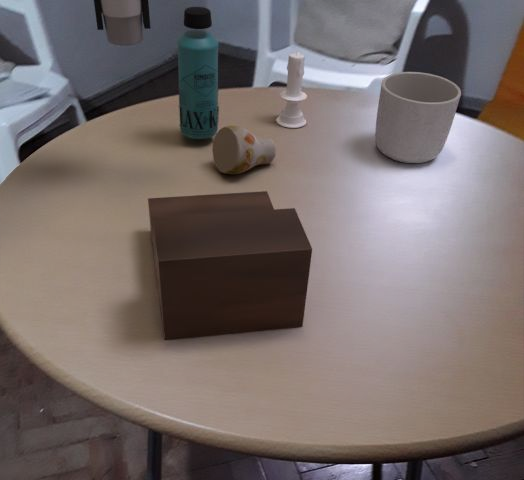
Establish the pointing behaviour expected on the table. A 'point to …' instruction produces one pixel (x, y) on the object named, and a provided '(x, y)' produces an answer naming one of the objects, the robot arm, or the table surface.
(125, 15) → the cup
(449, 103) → the planter
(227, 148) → the floral vase
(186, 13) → the beverage bottle
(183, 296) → the step shelf
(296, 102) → the candle
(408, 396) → the table surface
